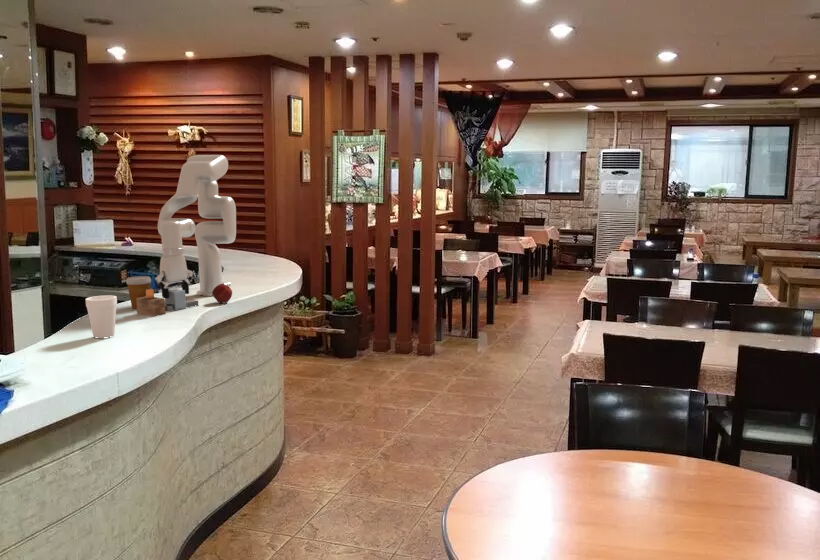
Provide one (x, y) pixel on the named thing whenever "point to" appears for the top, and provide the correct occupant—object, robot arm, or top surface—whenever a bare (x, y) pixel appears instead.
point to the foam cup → (102, 315)
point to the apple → (222, 293)
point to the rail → (188, 303)
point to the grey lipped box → (176, 298)
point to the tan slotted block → (150, 306)
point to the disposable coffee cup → (137, 288)
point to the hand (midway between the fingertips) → (175, 295)
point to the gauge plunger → (150, 294)
